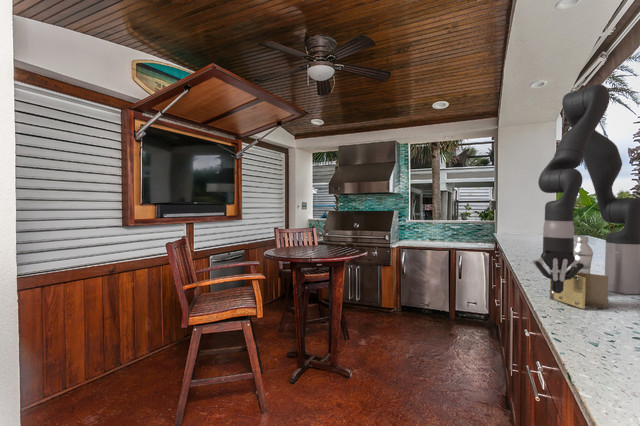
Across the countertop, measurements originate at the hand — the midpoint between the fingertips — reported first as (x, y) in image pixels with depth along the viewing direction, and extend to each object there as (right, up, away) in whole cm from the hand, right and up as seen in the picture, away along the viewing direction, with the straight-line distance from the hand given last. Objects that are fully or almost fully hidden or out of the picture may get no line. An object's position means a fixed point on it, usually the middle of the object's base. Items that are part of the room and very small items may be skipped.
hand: (556, 292), depth 99 cm
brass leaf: (+5, -4, +2) cm, 6 cm away
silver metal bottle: (+17, -4, +12) cm, 21 cm away
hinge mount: (+11, -4, +5) cm, 12 cm away
